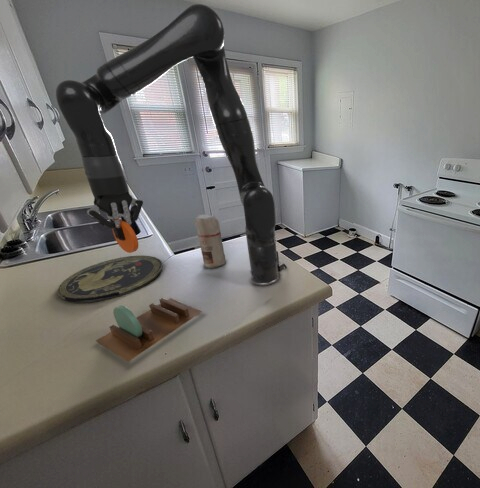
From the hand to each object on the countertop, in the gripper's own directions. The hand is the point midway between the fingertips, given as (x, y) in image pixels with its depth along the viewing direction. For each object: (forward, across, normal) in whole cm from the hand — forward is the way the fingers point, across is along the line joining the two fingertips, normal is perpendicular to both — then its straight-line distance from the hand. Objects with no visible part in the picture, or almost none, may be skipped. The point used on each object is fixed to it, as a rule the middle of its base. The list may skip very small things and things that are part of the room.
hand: (125, 238), depth 74 cm
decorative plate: (+22, +4, +24) cm, 33 cm away
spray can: (+21, +28, +1) cm, 35 cm away
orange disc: (+4, 0, 0) cm, 4 cm away
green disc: (+20, -11, -14) cm, 27 cm away
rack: (+21, -6, -14) cm, 26 cm away
